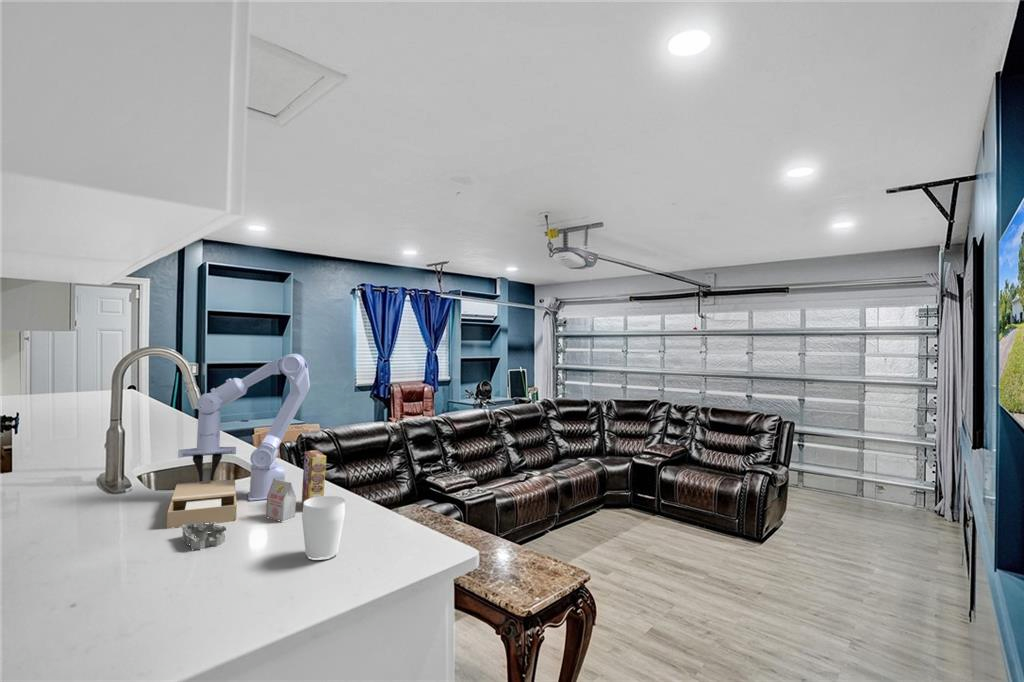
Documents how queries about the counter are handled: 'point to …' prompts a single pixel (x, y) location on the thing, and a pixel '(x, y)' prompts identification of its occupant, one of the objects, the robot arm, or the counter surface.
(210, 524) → the egg carton
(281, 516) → the milk carton
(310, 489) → the candy box
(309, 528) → the cup
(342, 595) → the counter surface
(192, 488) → the sliding lid
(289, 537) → the counter surface
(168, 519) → the carton
